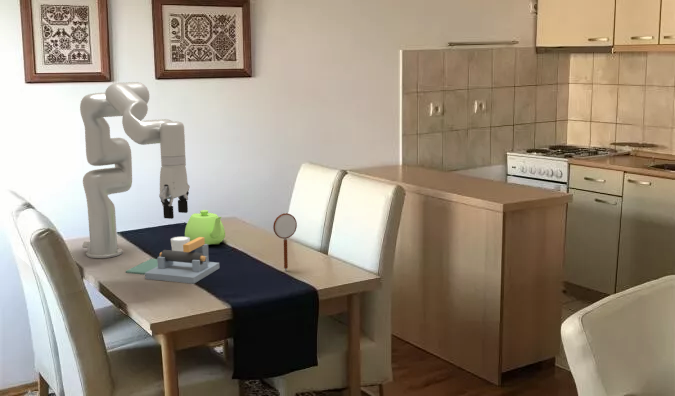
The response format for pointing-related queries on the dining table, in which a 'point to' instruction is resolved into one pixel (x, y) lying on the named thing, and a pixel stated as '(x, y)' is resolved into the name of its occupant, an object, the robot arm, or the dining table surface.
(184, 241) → the white cup
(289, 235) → the magnifying glass
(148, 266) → the mat
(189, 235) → the teapot
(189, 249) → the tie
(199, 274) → the grey cradle stand
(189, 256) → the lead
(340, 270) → the dining table surface
